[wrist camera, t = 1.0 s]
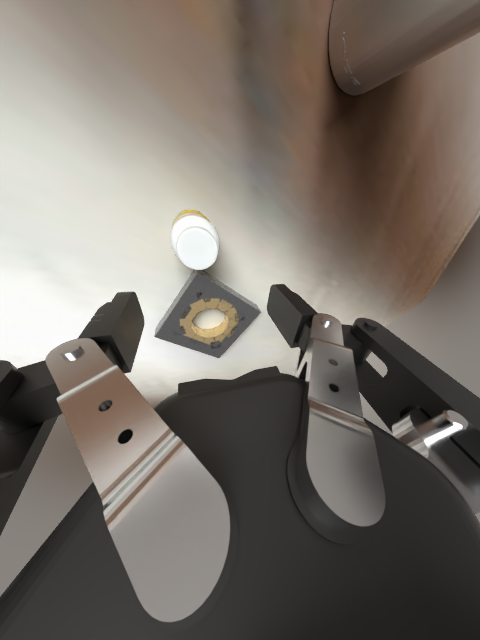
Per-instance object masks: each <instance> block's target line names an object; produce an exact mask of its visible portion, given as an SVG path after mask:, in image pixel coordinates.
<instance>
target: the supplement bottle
mask: <svg viewBox="0 0 480 640" xmlns="http://www.w3.org/2000/svg"><path fill="white" fill-rule="evenodd" d="M170 242H171V247H172V249H173V252H174V253H175V255H176V256H177V257H178V259H179V260H181V261H182V262H183V264H185V265H186V266H187V267H189V268H191V269H194V270H203V269H206V268H208V267H210V266H211V265H212V264H213V263H214V262H215V260H216V258H217V255H218V252H219V247H220V241H219V236H218V233H217V231H216V229H215V227H214V226H213V225H212V223H211V222H210V221H209V220H208V219H207V218H206V217H205V216H204V215H203V214H202V213H200V212H199V211H196V210H192V209H188V210H184V211H182V212H180V213H179V214H178V215H177V216H176V217H175V219H174V221H173V225H172V229H171V235H170Z"/></svg>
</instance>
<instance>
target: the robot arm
mask: <svg viewBox="0 0 480 640" xmlns="http://www.w3.org/2000/svg"><path fill="white" fill-rule="evenodd" d="M479 32H480V0H334V3H333V8H332V13H331V20H330V29H329V56H330V65H331V68H332V72H333V76H334V78H335V80H336V82H337V84H338V86H339V87H340V88H341V89H342V90H343V92H345V93H347V94H349V95H360V94H363V93H366V92H367V91H369V90H371V89H373V88H375V87H377V86H379V85H381V84H383V83H384V82H386V81H388V80H390V79H392V78H394V77H396V76H398V75H400V74H402V73H404V72H406V71H408V70H409V69H411V68H413V67H415V66H417V65H419V64H421V63H423V62H425V61H426V60H428V59H430V58H432V57H434V56H436V55H438V54H440V53H442V52H443V51H445V50H447V49H449V48H451V47H453V46H455V45H457V44H458V43H460V42H462V41H464V40H466V39H468V38H470V37H472V36H474V35H475V34H477V33H479ZM267 311H268V314H269V316H270V317H271V319H272V320H273V322H274V323H275V325H276V326H277V328H278V329H279V331H280V332H281V334H282V335H283V337H284V338H285V340H286V341H287V343H288V344H289V346H290V347H291V348H295V347H299V348H300V350H299V353H298V358H297V364H296V369H295V375H294V376H292V375H288V374H283V373H280V372H279V370H278V368H277V366H274V367H269V368H263V369H257V370H254V371H251V372H249V373H247V374H245V375H243V376H240V377H238V378H236V379H233V380H220V379H201V380H196V381H190V382H185V383H179V384H178V392H177V393H175V394H173V395H171V396H169V397H168V398H166V399H165V400H163V401H162V402H160V403H159V404H158V405H157V406H156V407H154V408H152V407H151V406H150V404H149V403H148V402H147V401H146V400H145V398H144V397H143V396H142V395H141V394H140V392H139V391H138V390H137V389H136V388H135V386H134V385H133V384H132V383H131V382H130V380H129V379H128V378H127V377H126V376H125V374H124V373H129V372H131V369H132V366H133V362H134V359H135V355H136V352H137V348H138V345H139V342H140V338H141V335H142V331H143V328H144V316H143V313H142V310H141V307H140V304H139V301H138V298H137V295H136V293H135V292H119V293H117V294H116V295H115V297H114V299H113V300H112V302H107V303H106V304H104V305H103V306H102V307H100V308H99V309H98V310H97V312H96V313H95V316H93V317H92V319H91V321H90V322H89V323H88V325H87V326H86V327H85V329H84V330H83V332H82V333H81V335H80V336H79V337H78V339H74V340H71V341H68V342H65V343H63V344H61V345H59V346H58V347H56V348H55V349H53V350H52V351H51V352H50V353H49V354H48V355H47V357H46V360H45V361H41V362H38V363H35V364H31V365H28V366H25V367H21V368H18V369H17V368H16V367H15V366H13V365H12V364H11V363H10V362H8V361H4V360H0V535H1V533H2V531H3V529H4V527H5V525H6V523H7V521H8V519H9V516H10V514H11V512H12V510H13V508H14V506H15V504H16V502H17V500H18V498H19V496H20V494H21V491H22V490H23V488H24V486H25V483H26V481H27V479H28V477H29V475H30V473H31V471H32V469H33V467H34V465H35V463H36V461H37V459H38V457H39V455H40V452H41V450H42V448H43V446H44V444H45V442H46V440H47V438H48V436H49V434H50V432H51V430H52V427H53V425H54V424H55V421H56V419H57V417H58V415H60V414H63V415H64V417H65V419H66V422H67V424H68V426H69V428H70V431H71V433H72V435H73V437H74V440H75V442H76V444H77V446H78V448H79V451H80V453H81V455H82V457H83V460H84V462H85V464H86V466H87V468H88V470H89V473H90V475H91V477H92V479H93V483H92V484H91V485H90V486H89V488H88V489H87V490H86V491H85V492H84V494H83V495H82V496H81V497H80V499H79V500H78V501H77V502H76V504H75V505H74V506H73V507H72V509H71V510H70V511H69V512H68V514H67V515H66V516H65V517H64V518H63V520H62V521H61V522H60V523H59V525H58V526H57V527H56V528H55V530H54V531H53V532H52V533H51V535H50V536H49V537H48V538H47V540H46V541H45V542H44V543H43V544H42V546H41V547H40V548H39V549H38V551H37V552H36V553H35V554H34V556H33V557H32V558H31V559H30V561H29V562H28V563H27V564H26V566H25V567H24V568H23V569H22V570H21V572H20V573H19V574H18V575H17V577H16V578H15V579H14V580H13V582H12V583H11V584H10V585H9V587H8V588H7V589H6V590H5V592H4V593H3V594H2V595H1V597H0V640H480V523H479V521H478V519H477V517H476V516H475V514H476V513H479V512H480V398H479V397H477V396H476V395H474V394H473V393H472V392H471V391H469V390H468V389H466V388H465V387H464V386H462V385H461V384H460V383H458V382H457V381H456V380H454V379H453V378H452V377H450V376H449V375H448V374H446V373H445V372H444V371H442V370H441V369H440V368H438V367H437V366H436V365H434V364H433V363H432V362H430V361H429V360H428V359H426V358H425V357H424V356H422V355H421V354H420V353H418V352H417V351H416V350H414V349H413V348H411V347H410V346H409V345H407V344H406V343H405V342H404V341H402V340H401V339H400V338H398V337H396V336H395V335H394V334H393V333H391V332H390V331H389V330H388V329H386V328H385V327H384V326H382V325H381V324H379V323H378V322H376V321H373V320H370V319H367V318H358V319H356V320H355V322H354V324H353V325H343V324H341V323H340V321H339V320H338V319H336V318H335V317H333V316H331V315H328V314H322V313H319V314H318V313H317V312H316V311H315V310H314V309H313V308H312V307H311V306H310V305H309V304H307V303H306V302H305V301H304V300H303V299H302V298H301V297H300V296H299V295H298V294H296V293H294V292H292V291H291V290H290V289H289V288H288V287H287V286H286V285H284V284H276V285H272V286H271V288H270V293H269V298H268V304H267ZM371 352H373V353H374V354H375V355H377V357H379V358H380V359H381V360H382V361H383V362H384V363H385V365H386V366H387V369H388V372H387V374H386V375H385V376H384V377H382V376H381V375H380V374H379V373H378V372H377V371H376V370H375V369H374V368H373V367H372V366H371V365H370V364H369V363H368V362H367V361H366V358H367V357H368V356H369V354H370V353H371ZM359 392H360V393H361V394H362V395H363V397H364V398H365V399H366V400H367V402H368V403H369V404H370V405H371V407H372V408H373V409H374V410H375V412H376V413H377V414H378V416H379V417H380V418H381V419H382V421H383V422H384V423H385V424H386V426H387V427H388V428H389V429H390V431H391V432H392V433H393V435H394V436H392V435H390V434H389V433H387V432H386V431H384V430H382V429H381V428H379V427H378V426H376V425H374V424H373V423H371V422H369V421H368V420H366V419H365V418H363V413H362V407H361V400H360V394H359Z"/></svg>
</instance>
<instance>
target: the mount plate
mask: <svg viewBox="0 0 480 640" xmlns="http://www.w3.org/2000/svg"><path fill="white" fill-rule="evenodd" d="M205 309H219V310H220V311H222V312H224V313H225V314H226V315H225V320H224V321H223V322H222V323H221V325H220V326H218V327H215V328H213V329H201V328H199V327H197V326H195V325H194V323H193V322H192V319H193V318H194V317H195V315H196V314H197V313H198V312H200V311H202V310H205ZM260 313H261V311H260V309H259V308H258V306H257V305H256V304H254V303H253V302H251V301H249V300H248V299H246V298H245V297H243V296H242V295H240V294H238V293H237V292H235V291H234V290H232V289H231V288H229V287H227V286H226V285H224V284H223V283H221V282H220V281H218V280H217V279H215V278H213V277H212V276H210V275H209V274H207V273H206V272H204V271H202V270H194V271H193V273H192V274H191V276H190V277H189V279H188V280H187V282H186V283H185V285H184V286H183V288H182V289H181V291H180V292H179V294H178V296H177V297H176V299H175V300H174V302H173V303H172V305H171V306H170V308H169V309H168V311H167V312H166V314H165V315H164V317H163V318H162V320H161V321H160V323H159V324H158V326H157V327H156V331H155V337H157V338H160V339H163V340H166V341H169V342H172V343H175V344H178V345H181V346H184V347H187V348H190V349H193V350H196V351H199V352H202V353H205V354H208V355H211V356H214V357H217V358H220V357H221V355H222V354H223V353H224V352H225V351H226V350H227V349H228V348H229V347H230V346H231V344H232V343H233V342H234V341H235V340H236V339H237V338H238V337H239V336H240V335H241V334H242V332H243V331H244V330H245V329H246V328H247V327H248V326H249V325H250V324H251V323H252V321H253V320H254V319H255V318H256V317H257V316H258V315H259V314H260Z"/></svg>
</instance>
